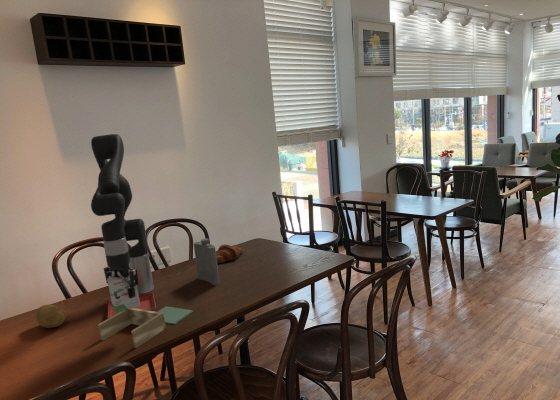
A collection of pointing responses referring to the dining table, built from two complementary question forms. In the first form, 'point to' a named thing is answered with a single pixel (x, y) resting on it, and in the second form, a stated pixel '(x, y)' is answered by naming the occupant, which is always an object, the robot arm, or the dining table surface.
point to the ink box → (121, 295)
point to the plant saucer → (145, 304)
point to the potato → (50, 316)
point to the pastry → (227, 253)
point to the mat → (174, 314)
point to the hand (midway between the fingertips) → (124, 296)
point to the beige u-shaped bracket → (146, 319)
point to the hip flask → (206, 262)
